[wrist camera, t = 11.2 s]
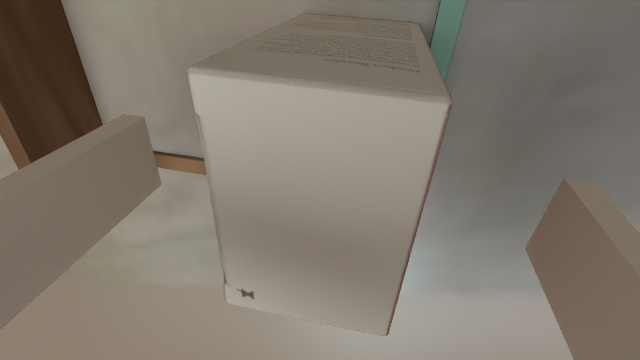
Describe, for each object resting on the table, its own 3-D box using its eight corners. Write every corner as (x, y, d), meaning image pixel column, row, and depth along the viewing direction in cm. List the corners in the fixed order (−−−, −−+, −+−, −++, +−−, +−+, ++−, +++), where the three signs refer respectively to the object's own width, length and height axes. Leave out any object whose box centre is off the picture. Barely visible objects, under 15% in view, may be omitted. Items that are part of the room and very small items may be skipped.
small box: (391, 172, 19) (389, 344, 10) (297, 158, 20) (221, 309, 11) (423, 19, 15) (464, 98, 6) (300, 9, 15) (178, 66, 7)
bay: (473, -33, 13) (509, -31, 9) (411, 203, 20) (416, 266, 16) (21, -61, 16) (-109, -70, 12) (99, 155, 23) (34, 198, 18)
